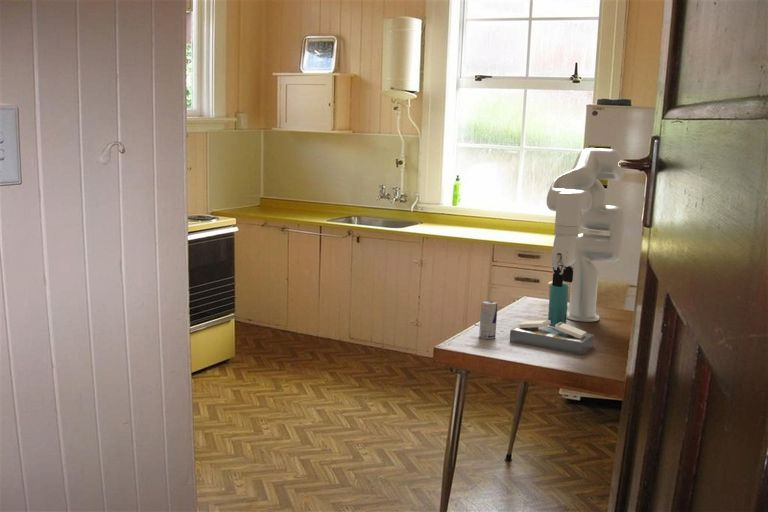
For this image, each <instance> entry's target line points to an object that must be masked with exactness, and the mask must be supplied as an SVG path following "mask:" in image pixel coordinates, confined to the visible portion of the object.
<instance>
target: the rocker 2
mask: <svg viewBox="0 0 768 512" xmlns="http://www.w3.org/2000/svg"><path fill="white" fill-rule="evenodd" d="M553 328H554V329H557V330H559V331H562V332H564V333H567V334H569V335H572V336H574V337H577V338H580V339H581V338H583V337H584V336H585V335H586V333H587V331H585V330H582V329H580V328H578V327H577V328H576V327H574V326H573V325H569V324H568V323H566V324H564V323H562V322H560V323H558V324H556V325H555V327H553Z"/></svg>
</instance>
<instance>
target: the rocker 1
mask: <svg viewBox="0 0 768 512" xmlns="http://www.w3.org/2000/svg"><path fill="white" fill-rule="evenodd" d="M550 324H551V321H550V320H548V319H547V320H524V321H522V322H520V323H519V324H518V325H519V328H530V327H546V326H548V327H549V325H550Z"/></svg>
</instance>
